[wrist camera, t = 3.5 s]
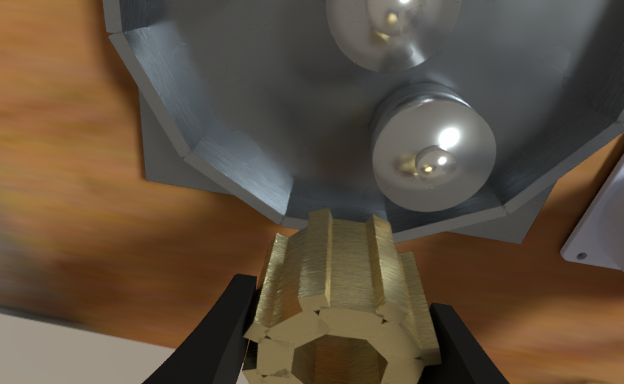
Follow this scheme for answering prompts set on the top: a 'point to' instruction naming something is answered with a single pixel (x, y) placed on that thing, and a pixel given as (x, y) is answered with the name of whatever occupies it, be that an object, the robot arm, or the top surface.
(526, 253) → the top surface
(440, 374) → the robot arm
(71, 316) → the top surface
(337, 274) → the gear
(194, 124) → the carrier
